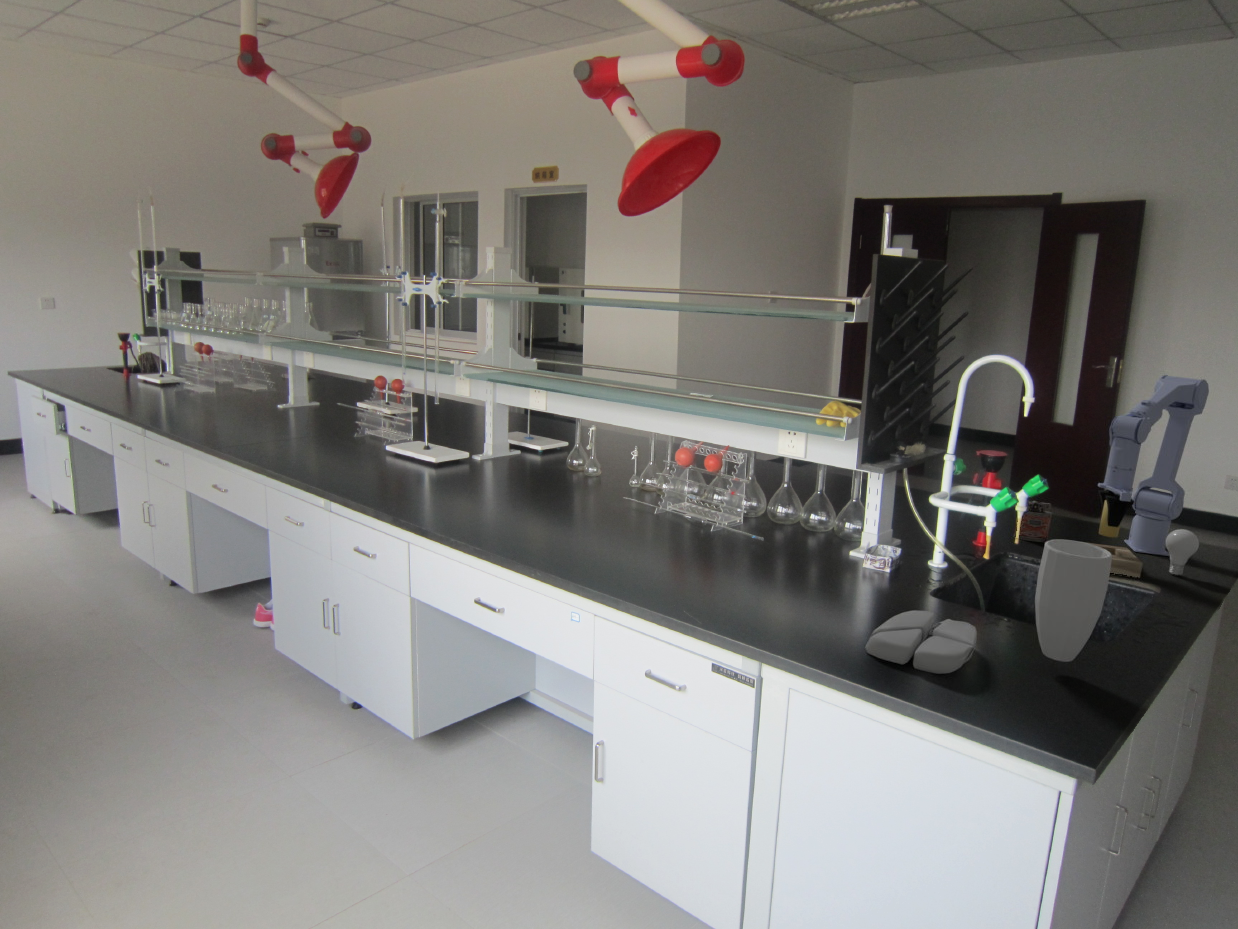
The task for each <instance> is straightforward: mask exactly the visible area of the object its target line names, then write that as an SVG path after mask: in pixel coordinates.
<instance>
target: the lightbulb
mask: <svg viewBox="0 0 1238 929" xmlns="http://www.w3.org/2000/svg"><path fill="white" fill-rule="evenodd" d="M1165 543H1166V546H1165V548H1166V549H1167V552H1168V553H1169V554H1170V556H1169V561H1170V564H1169V569H1168V572H1169V573H1170V575H1172V576H1176V577H1178V576H1181V575H1183V573H1184V567H1185V565H1186V564H1187V563H1188V560H1189V559H1190V557H1191V556H1193V555H1194V554H1196V552H1197V551H1198V549H1199V546H1200V540H1199V538H1198V537H1197V535H1196V534H1195V533H1194V532H1192V531H1191V530H1188V529H1183V528H1181V529H1179V528H1178V529H1174V530H1173V531H1171V532H1170V533H1168V536H1167V538H1166V542H1165Z"/></svg>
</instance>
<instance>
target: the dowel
mask: <svg viewBox="0 0 1238 929" xmlns="http://www.w3.org/2000/svg"><path fill="white" fill-rule="evenodd" d="M1107 518H1108V506H1107V501H1106V500H1105V503H1104V508H1103V513H1102V512H1101V519H1100V523H1099V529H1098V535H1101V536H1104V537H1108V538H1118V537H1119V533H1120V529H1121V523H1122V522H1121V523H1120V525H1119V527H1111V526H1108V523H1107Z"/></svg>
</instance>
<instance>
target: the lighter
mask: <svg viewBox="0 0 1238 929" xmlns="http://www.w3.org/2000/svg"><path fill="white" fill-rule="evenodd" d="M1028 502H1029V503H1028V509H1029V512H1027V513H1025V514H1024V515H1023V516H1022V521H1021V527H1020V535H1019V539H1018V540H1023V541H1030V542H1038V543H1039V542H1041V543H1046V542H1047V541H1049V530H1050V525H1051V520H1052V517H1053V514H1054V513H1053V512H1051V511H1047V510H1046V509H1048V510H1051V507H1052V504H1051V503H1050V502H1049V503H1048V502H1038V501H1036V500H1033V501H1028ZM1017 522H1018V518H1017V520H1016V523H1017ZM1016 531H1017V524H1016V526H1015V531H1014V534H1013V538H1014V537H1016Z"/></svg>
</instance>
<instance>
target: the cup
mask: <svg viewBox="0 0 1238 929" xmlns="http://www.w3.org/2000/svg"><path fill="white" fill-rule="evenodd" d="M1088 543H1089V542H1085V543H1084V541H1079V540H1078V541H1077V540H1072V539H1071V540H1070V539H1050V540H1048V541H1047V542H1044V547H1043V552H1042V554H1041V555H1042V556H1041V561H1040V564H1039V567H1038V574H1037V581H1036V588H1035V589H1036V590H1035V597H1034V603H1035V604H1034V605H1035V609H1034V610H1035V625H1036V632H1037V637H1038V642H1039V646H1040V648H1041V652H1042V654H1043V655H1044V656H1046V657H1047V658H1049V659H1051V660H1054V661H1058V662H1065V663H1066V662H1069V663H1070V662H1072V661H1074V659H1076V657H1077V656H1078V655H1079V654H1080V653H1081V652H1082V649H1084V647H1085V645H1086V643H1087V642H1088V640H1089V639H1090V637H1091V635H1092V633H1093V630H1094V629H1095V627H1096V624H1097V623H1098V620H1099V618H1100V616H1101V613H1102V609H1103V606H1104V602H1105V599H1106V595H1107V590H1108V586H1109V580H1110V579H1109V578H1110V575H1111V574H1110V568H1111V562H1112V554H1111V553H1110V552H1108V551H1107V550H1106V549H1103V548H1101V547H1098V546H1095V545H1091V544H1088Z"/></svg>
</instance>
